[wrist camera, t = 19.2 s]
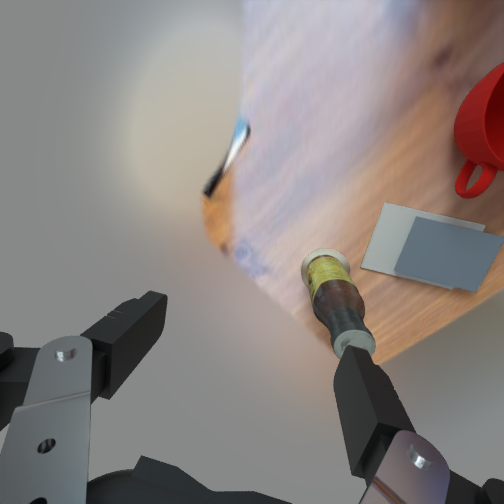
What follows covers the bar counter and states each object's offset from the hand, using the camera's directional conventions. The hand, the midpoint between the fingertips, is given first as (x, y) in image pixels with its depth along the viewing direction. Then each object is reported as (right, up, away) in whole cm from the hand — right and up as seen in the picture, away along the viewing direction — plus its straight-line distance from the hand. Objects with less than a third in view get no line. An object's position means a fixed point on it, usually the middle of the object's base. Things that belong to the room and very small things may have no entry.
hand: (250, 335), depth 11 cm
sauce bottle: (+13, 0, +33) cm, 35 cm away
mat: (+27, +4, +30) cm, 40 cm away
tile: (+24, +5, +28) cm, 38 cm away
